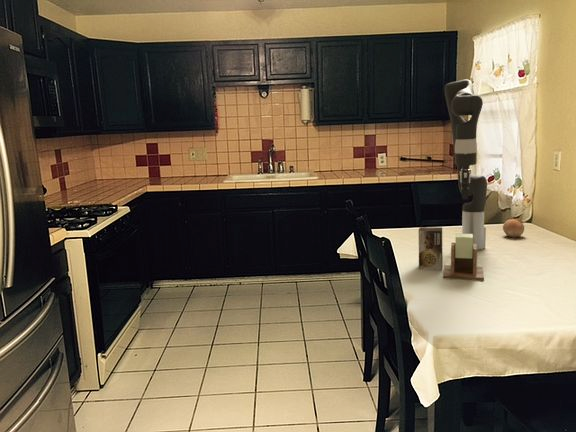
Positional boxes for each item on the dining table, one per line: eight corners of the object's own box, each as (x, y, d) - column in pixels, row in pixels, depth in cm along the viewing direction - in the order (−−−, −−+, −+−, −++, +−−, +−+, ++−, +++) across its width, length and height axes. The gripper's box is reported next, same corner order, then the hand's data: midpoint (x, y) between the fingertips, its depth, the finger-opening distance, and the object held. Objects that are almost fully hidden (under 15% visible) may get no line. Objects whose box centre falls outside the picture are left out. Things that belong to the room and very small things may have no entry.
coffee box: (442, 265, 193) (443, 227, 190) (442, 270, 187) (442, 230, 184) (419, 264, 196) (419, 226, 193) (418, 269, 190) (418, 229, 187)
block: (455, 253, 184) (455, 233, 183) (471, 254, 182) (472, 233, 181) (455, 257, 179) (455, 237, 177) (472, 258, 177) (472, 237, 175)
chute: (444, 267, 190) (444, 240, 188) (482, 269, 186) (483, 242, 184) (443, 278, 178) (443, 249, 176) (484, 280, 173) (484, 251, 171)
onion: (519, 241, 236) (529, 223, 234) (517, 240, 228) (527, 222, 226) (500, 233, 240) (510, 215, 239) (497, 232, 233) (507, 213, 231)
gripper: (454, 150, 181) (454, 195, 184) (454, 153, 168) (453, 201, 171) (476, 150, 179) (475, 195, 182) (477, 152, 165) (476, 201, 168)
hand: (464, 197), depth 176 cm, fingers open, 4 cm apart
